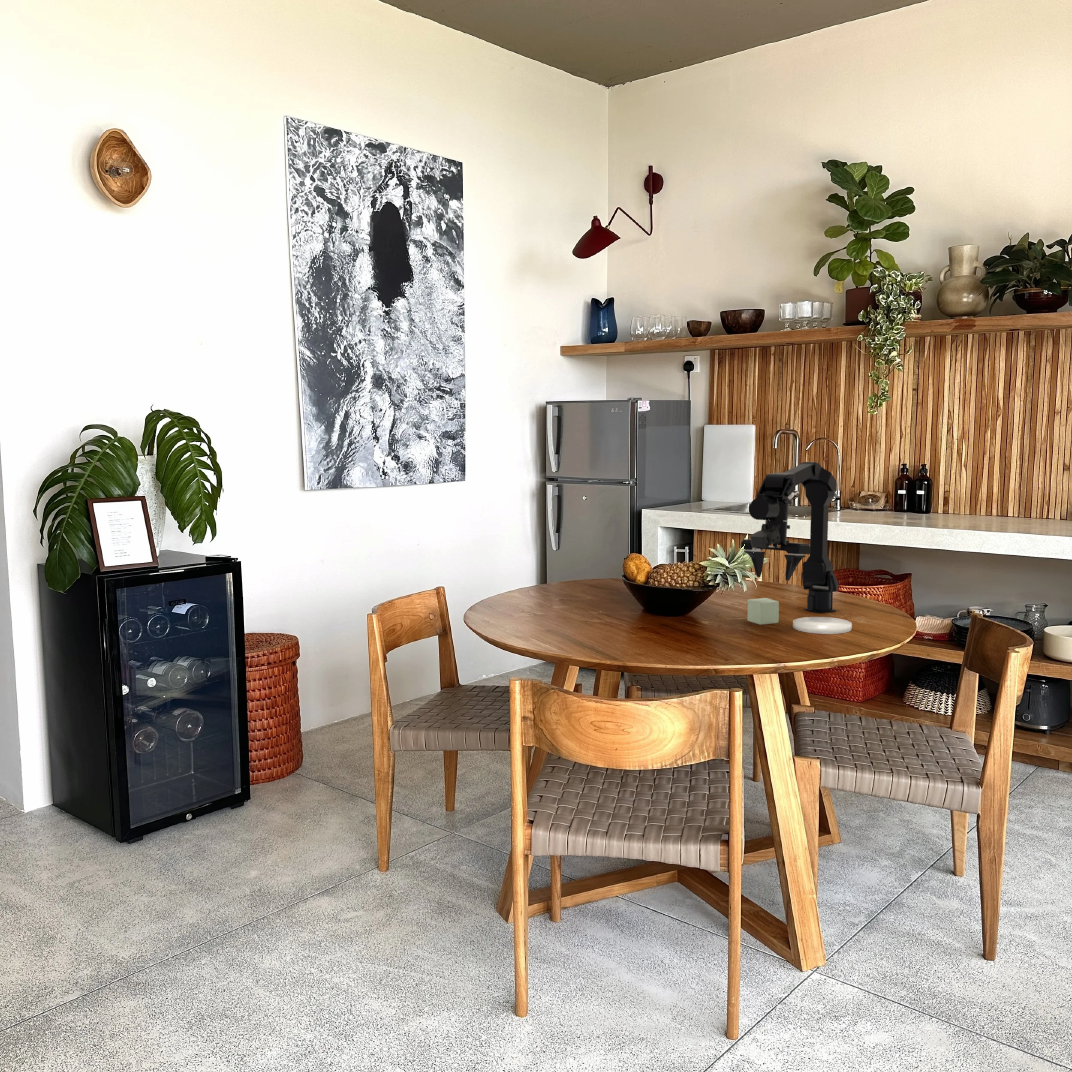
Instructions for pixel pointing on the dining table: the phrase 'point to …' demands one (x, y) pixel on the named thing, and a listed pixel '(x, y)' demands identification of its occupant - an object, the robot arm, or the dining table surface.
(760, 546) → the robot arm
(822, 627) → the plate
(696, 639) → the dining table surface
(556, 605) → the dining table surface
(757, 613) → the sage cube
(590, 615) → the dining table surface
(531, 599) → the dining table surface
